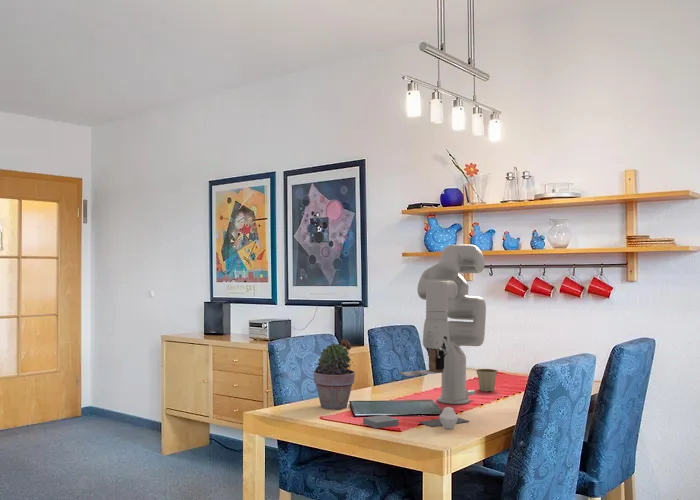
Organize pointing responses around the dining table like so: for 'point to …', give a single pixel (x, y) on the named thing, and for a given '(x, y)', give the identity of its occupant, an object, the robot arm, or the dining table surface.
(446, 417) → the muffin
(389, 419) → the tile
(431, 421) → the mat
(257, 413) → the dining table surface
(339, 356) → the potted plant
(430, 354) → the turner
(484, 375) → the flower pot
